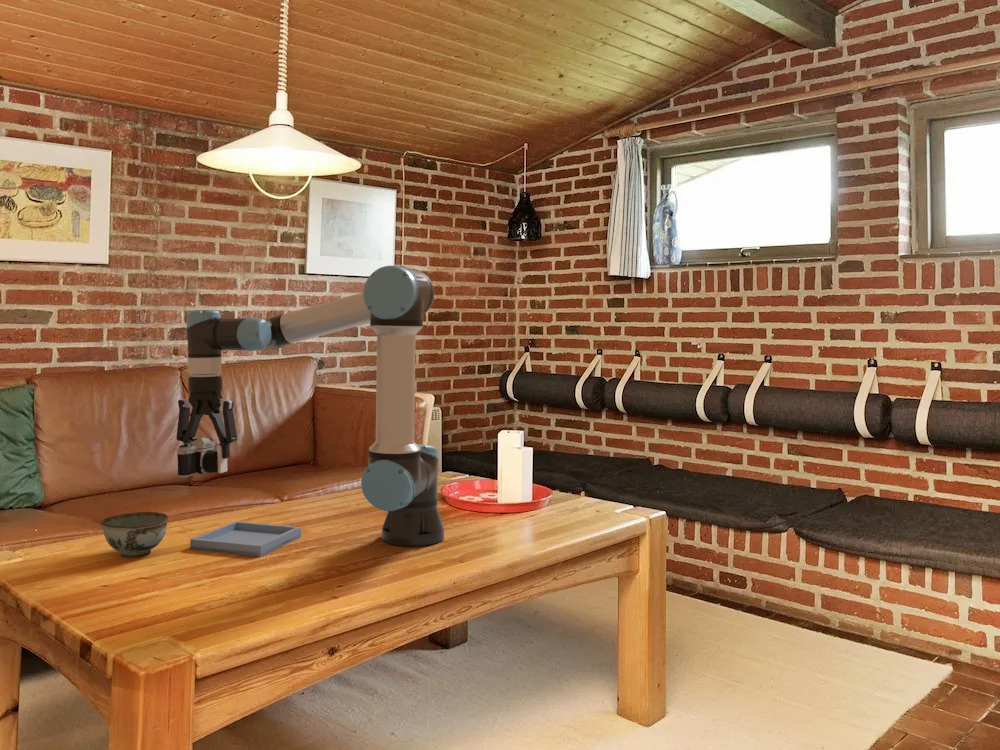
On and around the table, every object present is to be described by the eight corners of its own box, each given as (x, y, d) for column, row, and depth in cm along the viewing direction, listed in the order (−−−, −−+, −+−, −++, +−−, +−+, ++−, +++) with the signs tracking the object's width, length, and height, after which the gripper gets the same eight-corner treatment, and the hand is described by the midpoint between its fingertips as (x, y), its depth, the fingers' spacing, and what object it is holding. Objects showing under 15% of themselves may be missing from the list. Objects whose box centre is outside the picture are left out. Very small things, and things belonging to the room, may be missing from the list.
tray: (301, 536, 200) (301, 527, 200) (260, 556, 183) (260, 546, 183) (235, 530, 205) (235, 521, 205) (190, 549, 188) (190, 539, 187)
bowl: (182, 549, 188) (181, 514, 187) (138, 565, 175) (137, 528, 174) (134, 543, 192) (133, 509, 192) (87, 558, 179) (87, 522, 179)
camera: (203, 478, 188) (204, 439, 188) (172, 477, 190) (174, 437, 190) (233, 473, 201) (234, 436, 201) (204, 471, 202) (206, 435, 203)
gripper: (252, 375, 196) (254, 470, 197) (178, 374, 201) (180, 466, 203) (233, 376, 189) (236, 475, 190) (157, 375, 194) (160, 472, 196)
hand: (207, 471), depth 196 cm, fingers closed on camera, 8 cm apart
